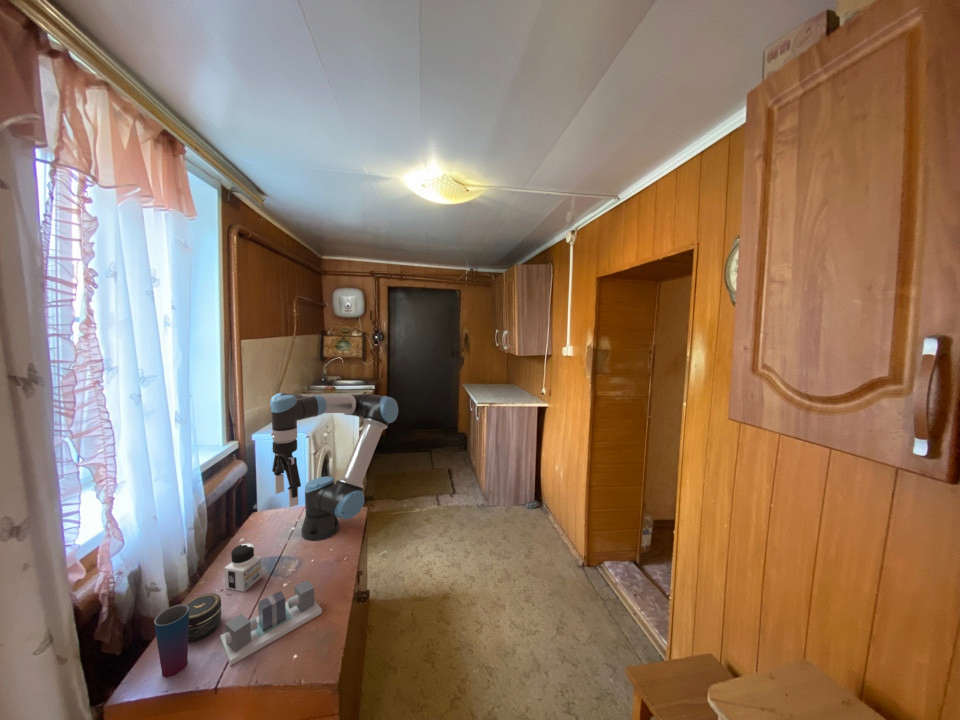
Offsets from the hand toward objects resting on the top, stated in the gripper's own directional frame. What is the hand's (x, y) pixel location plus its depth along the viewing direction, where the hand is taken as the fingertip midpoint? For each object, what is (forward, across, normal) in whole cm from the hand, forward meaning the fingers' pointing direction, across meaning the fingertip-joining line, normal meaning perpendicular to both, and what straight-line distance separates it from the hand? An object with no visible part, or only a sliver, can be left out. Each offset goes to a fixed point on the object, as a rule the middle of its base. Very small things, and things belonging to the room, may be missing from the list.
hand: (286, 498), depth 124 cm
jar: (+29, +6, -26) cm, 39 cm away
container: (+29, -7, -12) cm, 32 cm away
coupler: (+27, +20, -11) cm, 36 cm away
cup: (+29, +16, -33) cm, 47 cm away
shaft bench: (+29, +20, -11) cm, 37 cm away
